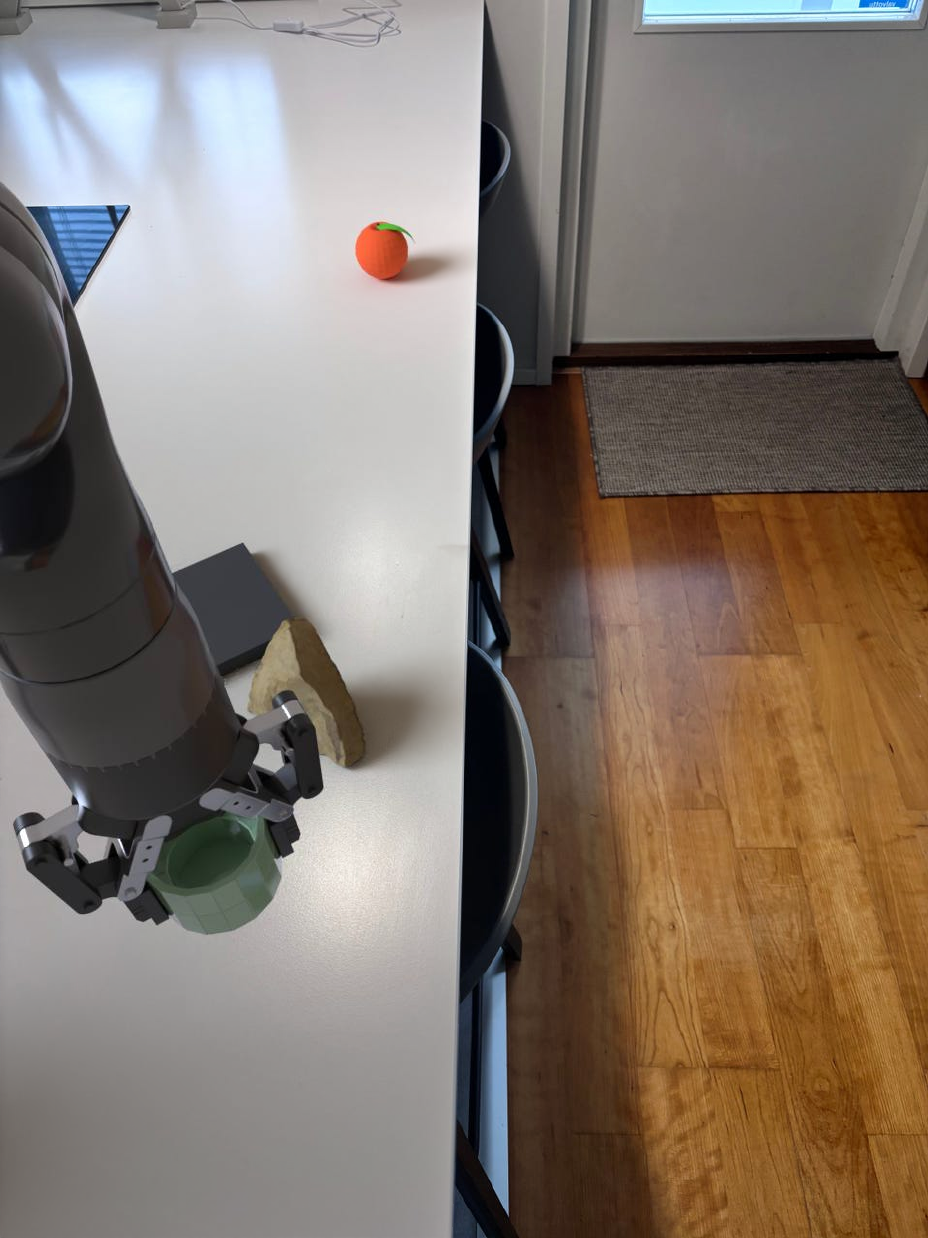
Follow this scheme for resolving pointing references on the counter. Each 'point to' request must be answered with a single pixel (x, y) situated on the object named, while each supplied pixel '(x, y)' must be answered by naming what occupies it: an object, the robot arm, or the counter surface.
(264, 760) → the counter surface
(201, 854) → the bowl
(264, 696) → the rock
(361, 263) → the clementine
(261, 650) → the scale
